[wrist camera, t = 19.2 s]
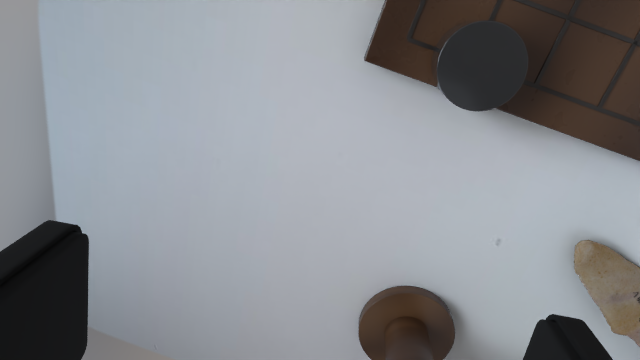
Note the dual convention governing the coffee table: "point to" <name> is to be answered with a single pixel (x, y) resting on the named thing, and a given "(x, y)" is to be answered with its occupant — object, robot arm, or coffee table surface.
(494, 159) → the coffee table surface
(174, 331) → the coffee table surface
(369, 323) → the wooden peg stand
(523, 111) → the board
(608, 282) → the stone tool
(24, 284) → the robot arm
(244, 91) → the coffee table surface
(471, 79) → the dark gray cylinder
